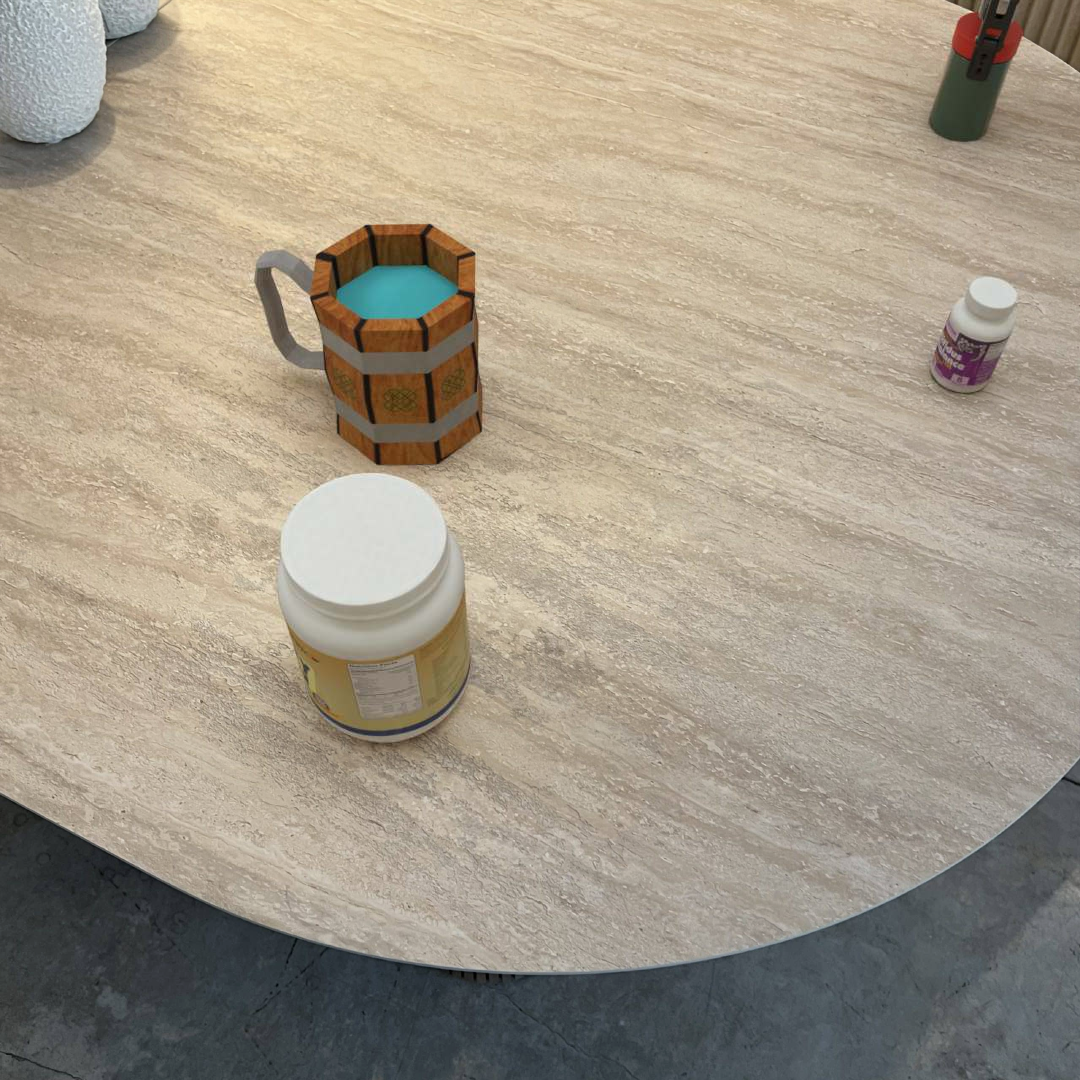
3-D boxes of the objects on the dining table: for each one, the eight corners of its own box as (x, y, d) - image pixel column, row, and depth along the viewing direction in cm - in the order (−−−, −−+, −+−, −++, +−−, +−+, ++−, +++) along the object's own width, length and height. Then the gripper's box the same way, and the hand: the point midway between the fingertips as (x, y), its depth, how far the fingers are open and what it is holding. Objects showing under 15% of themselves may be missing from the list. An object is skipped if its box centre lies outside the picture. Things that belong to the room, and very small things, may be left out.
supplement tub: (298, 621, 87) (256, 476, 73) (456, 592, 89) (442, 445, 75) (316, 765, 80) (273, 634, 66) (487, 730, 81) (479, 596, 68)
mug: (511, 379, 103) (508, 243, 91) (450, 487, 95) (439, 354, 83) (315, 324, 107) (288, 188, 95) (242, 424, 99) (202, 288, 87)
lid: (1013, 32, 122) (1020, 14, 120) (1020, 66, 118) (1027, 47, 116) (949, 27, 122) (954, 9, 120) (953, 60, 118) (959, 42, 116)
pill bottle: (916, 371, 104) (947, 288, 96) (953, 345, 106) (986, 261, 98) (964, 404, 101) (1000, 322, 93) (1001, 377, 103) (1039, 294, 96)
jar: (984, 110, 129) (1016, 20, 120) (989, 144, 125) (1023, 52, 117) (926, 106, 129) (954, 15, 121) (930, 138, 125) (959, 47, 117)
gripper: (1072, -64, 103) (1010, 103, 116) (1078, -131, 111) (1019, 33, 125) (987, -77, 104) (935, 90, 118) (999, -142, 113) (949, 21, 126)
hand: (978, 60), depth 121 cm, fingers closed on lid, 6 cm apart
